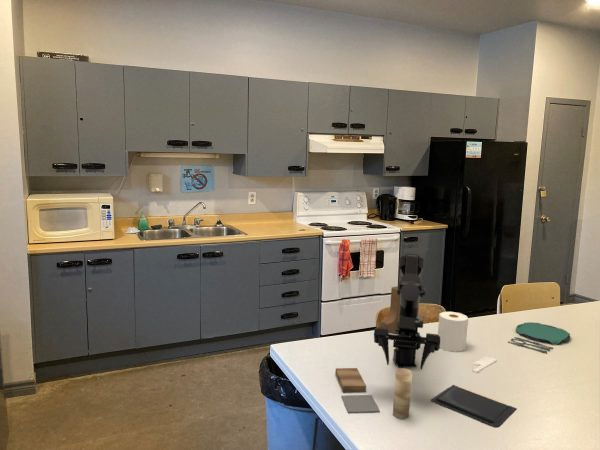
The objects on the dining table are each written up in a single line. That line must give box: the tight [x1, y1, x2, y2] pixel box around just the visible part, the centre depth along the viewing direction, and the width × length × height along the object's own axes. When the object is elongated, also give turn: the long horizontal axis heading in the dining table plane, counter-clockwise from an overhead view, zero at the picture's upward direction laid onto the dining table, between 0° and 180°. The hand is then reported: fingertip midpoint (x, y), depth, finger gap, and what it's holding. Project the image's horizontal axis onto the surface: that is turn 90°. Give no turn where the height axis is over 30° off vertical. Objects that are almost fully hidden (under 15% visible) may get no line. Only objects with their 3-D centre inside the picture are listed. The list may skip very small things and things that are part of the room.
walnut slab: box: [334, 367, 367, 394], centre depth 151 cm, size 12×7×2 cm, turn 7°
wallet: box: [430, 384, 518, 429], centre depth 140 cm, size 20×2×15 cm
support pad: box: [341, 394, 381, 414], centre depth 138 cm, size 9×9×1 cm
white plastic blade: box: [471, 356, 498, 374], centre depth 168 cm, size 5×15×1 cm, turn 133°
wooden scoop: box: [379, 285, 400, 333], centre depth 195 cm, size 9×4×18 cm, turn 119°
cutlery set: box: [507, 321, 571, 354], centre depth 195 cm, size 20×30×2 cm, turn 135°
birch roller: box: [392, 367, 413, 420], centre depth 132 cm, size 4×4×12 cm
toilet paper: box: [437, 311, 469, 353], centre depth 182 cm, size 10×10×12 cm
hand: (404, 366), depth 137 cm, fingers open, 9 cm apart
